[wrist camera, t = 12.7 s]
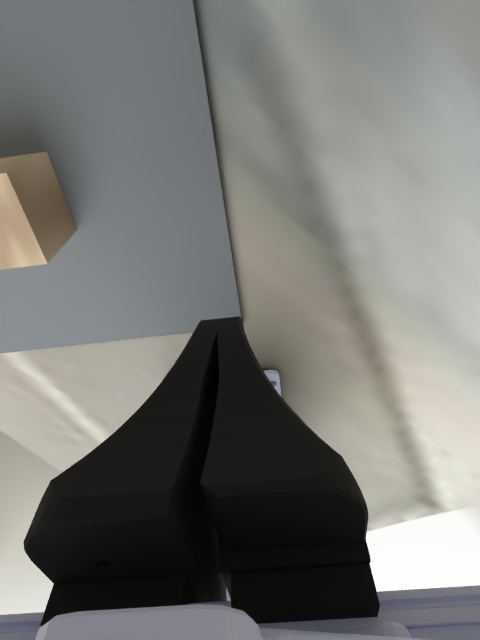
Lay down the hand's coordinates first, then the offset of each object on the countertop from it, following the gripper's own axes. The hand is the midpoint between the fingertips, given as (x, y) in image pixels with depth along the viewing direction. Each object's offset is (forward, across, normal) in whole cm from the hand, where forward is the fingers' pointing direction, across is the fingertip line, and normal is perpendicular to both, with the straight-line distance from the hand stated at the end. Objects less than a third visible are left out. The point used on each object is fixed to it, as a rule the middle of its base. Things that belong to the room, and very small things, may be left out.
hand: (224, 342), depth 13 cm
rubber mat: (+10, +11, -2) cm, 15 cm away
